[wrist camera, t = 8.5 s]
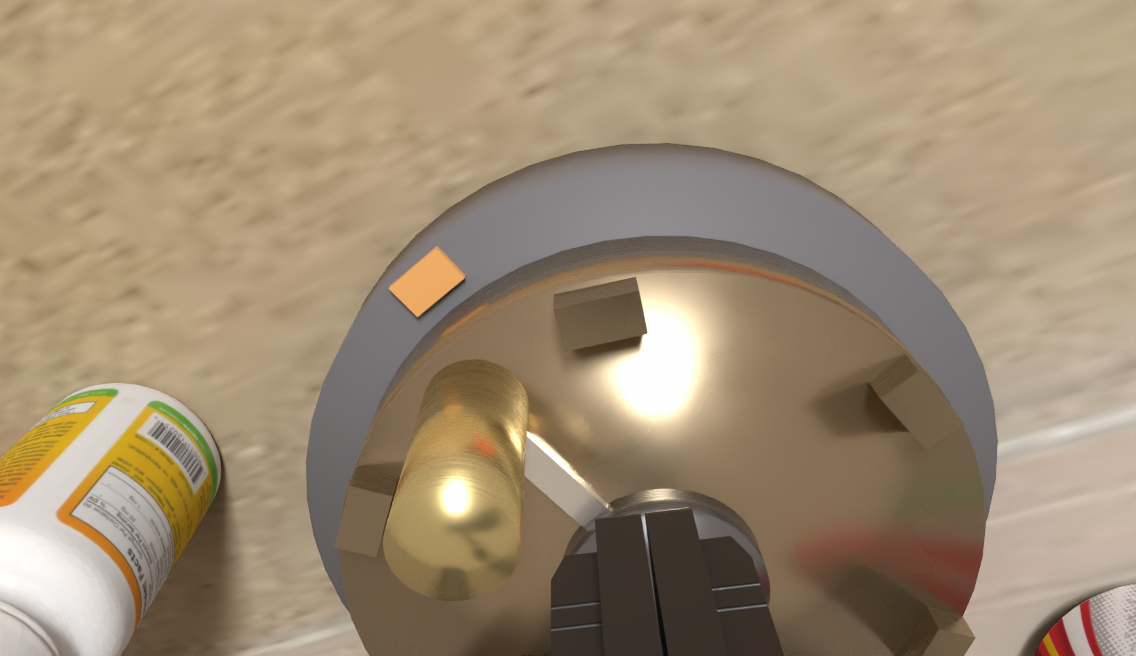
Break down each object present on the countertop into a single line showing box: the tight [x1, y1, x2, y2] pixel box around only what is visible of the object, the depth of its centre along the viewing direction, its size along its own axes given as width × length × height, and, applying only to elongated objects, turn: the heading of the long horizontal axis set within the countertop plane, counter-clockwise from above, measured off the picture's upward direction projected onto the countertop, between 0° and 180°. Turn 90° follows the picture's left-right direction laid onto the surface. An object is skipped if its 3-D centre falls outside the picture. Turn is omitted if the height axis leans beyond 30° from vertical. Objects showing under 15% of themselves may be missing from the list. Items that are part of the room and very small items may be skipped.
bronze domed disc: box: [334, 236, 986, 656], centre depth 21 cm, size 16×16×8 cm
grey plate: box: [306, 143, 998, 613], centre depth 26 cm, size 19×19×3 cm
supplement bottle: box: [0, 383, 221, 656], centre depth 23 cm, size 5×5×10 cm
